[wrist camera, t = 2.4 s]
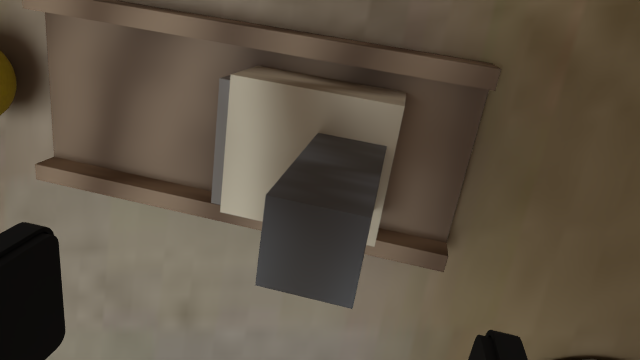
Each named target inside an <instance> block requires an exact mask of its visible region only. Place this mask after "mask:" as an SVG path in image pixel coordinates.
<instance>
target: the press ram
mask: <svg viewBox="0 0 640 360" xmlns="http://www.w3.org/2000/svg"><path fill="white" fill-rule="evenodd" d="M405 100H406V92H401V91H396V90H390V89H384V88H379V87H373V86H368V85H362V84H357V83H351V82H345V81H340V80H334V79H329V78H323V77H318V76H312V75H306V74H301V73H295V72H290V71H284V70H279V69H273V68H268V67H262V66H256V67H253V68H250V69H246V70H243V71H240V72H237V73H234V74H231V75H228V76H225V77H222V78H219V93H218V108H217V122H216V137H215V152H214V166H213V181H212V196H211V203H214V204H218V205H221V207H220V212H222V213H226V214H231V215H235V216H240V217H244V218H249V219H253V220H257V221H262V222H263V223H262V232H261V241H260V249H259V258H258V267H257V276H256V285H257V286H261V287H265V288H269V289H273V290H277V291H281V292H285V293H290V294H294V295H298V296H302V297H306V298H310V299H314V300H318V301H322V302H326V303H330V304H335V305H339V306H343V307H347V308H351V309H352V308H353V304H354V299H355V294H356V290H357V285H358V280H359V276H360V271H361V267H362V262H363V257H364V253H365V248H366V245H369V246H373V247H375V242H376V238H377V233H378V228H379V224H380V219H381V214H382V210H383V205H384V200H385V196H386V191H387V187H388V182H389V177H390V173H391V168H392V163H393V159H394V154H395V149H396V145H397V140H398V136H399V131H400V126H401V122H402V117H403V112H404V108H405Z"/></svg>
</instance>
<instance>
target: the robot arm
mask: <svg viewBox="0 0 640 360" xmlns="http://www.w3.org/2000/svg"><path fill="white" fill-rule="evenodd" d="M64 335H65V320H64V307H63V294H62V281H61V268H60V255H59V242H58V239H57V237H56V236H54V234H53V232H52V230H51V229H50V228H48V227H44V226H40V225H35V224H31V223H27V222H22V223H19V224H17V225H15V226H13V227H11V228H10V229H8V230H6V231H4V232H2V233H0V360H45V359H46V358H47V357H48V356H49V355H50V354H52V353H53V352H54V351H55V350H56V349H57V348H58V346H59V345H60V344H61V342H62V340H63V338H64ZM468 360H528V359H527V356H526V353H525V350H524V347H523V344H522V341H521V339H520V337H518V336H515V335H510V334H506V333H502V332H497V331H493V330H489V331H488V332H487V333H486V336H482V335H477V337H476V339H475V341H474V344H473V347H472V350H471V353H470V356H469V359H468ZM584 360H595V359H584Z"/></svg>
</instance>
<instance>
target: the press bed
mask: <svg viewBox="0 0 640 360" xmlns="http://www.w3.org/2000/svg"><path fill="white" fill-rule="evenodd" d="M22 5H23V8H25V9H30V10H36V11H42V12H45V20H46V36H47V51H48V67H49V83H50V99H51V114H52V130H53V146H54V157H52V158H50V159H47V160H45V161H42V162H39V163H37V164H35V168H36V179H37V180H42V181H46V182H50V183H55V184H59V185H64V186H68V187H72V188H77V189H81V190H85V191H90V192H94V193H99V194H103V195H107V196H112V197H116V198H121V199H125V200H129V201H134V202H138V203H143V204H147V205H151V206H156V207H160V208H164V209H169V210H173V211H178V212H182V213H186V214H191V215H195V216H200V217H204V218H208V219H213V220H217V221H222V222H226V223H230V224H235V225H239V226H243V227H248V228H252V229H257V230H261V231H262V223H263V222H262V221H257V220H253V219H249V218H244V217H240V216H235V215H231V214H226V213H222V212H220V207H221V205H218V204H214V203H211V196H212V181H213V166H214V152H215V137H216V122H217V108H218V93H219V78H222V77H225V76H228V75H231V74H234V73H237V72H240V71H243V70H246V69H250V68H253V67H256V66H262V67H268V68H273V69H279V70H284V71H290V72H295V73H301V74H306V75H312V76H318V77H323V78H329V79H334V80H340V81H345V82H351V83H357V84H362V85H368V86H373V87H379V88H384V89H390V90H396V91H401V92H406V100H405V108H404V112H403V117H402V122H401V126H400V131H399V136H398V140H397V145H396V149H395V154H394V159H393V163H392V168H391V173H390V177H389V182H388V187H387V191H386V196H385V200H384V205H383V210H382V214H381V219H380V224H379V228H378V233H377V238H376V242H375V247H373V246H369V245H366V248H365V253H364V254H366V255H371V256H375V257H380V258H384V259H388V260H393V261H397V262H401V263H406V264H410V265H415V266H419V267H423V268H428V269H432V270H437V271H441V272H444V270H445V266H446V263H447V259H448V251H447V239H448V235H449V232H450V228H451V225H452V221H453V217H454V214H455V210H456V207H457V203H458V200H459V196H460V192H461V189H462V185H463V182H464V178H465V174H466V171H467V167H468V164H469V160H470V156H471V153H472V149H473V146H474V142H475V139H476V135H477V131H478V128H479V124H480V121H481V117H482V113H483V110H484V106H485V103H486V99H487V95H488V92H489V90H493V91H495V90H496V86H497V83H498V79H499V76H500V72H501V69H500V68H498V67H497V66H495V65H493V64H491V63H485V62H479V61H473V60H467V59H461V58H455V57H450V56H444V55H438V54H432V53H426V52H420V51H414V50H408V49H402V48H396V47H390V46H384V45H378V44H372V43H366V42H360V41H354V40H348V39H342V38H336V37H330V36H324V35H318V34H312V33H306V32H300V31H294V30H288V29H282V28H276V27H270V26H264V25H259V24H253V23H247V22H241V21H235V20H229V19H223V18H217V17H211V16H205V15H199V14H193V13H187V12H181V11H175V10H169V9H163V8H157V7H151V6H145V5H139V4H133V3H127V2H121V1H115V0H22Z"/></svg>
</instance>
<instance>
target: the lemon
mask: <svg viewBox="0 0 640 360" xmlns="http://www.w3.org/2000/svg"><path fill="white" fill-rule="evenodd" d="M16 88H17V86H16V76H15V72H14V70H13V67H12V65H11V63H10V62H9V60H8V59H7V58H6V56H5V55H4V54H3V53H2V52H1V51H0V115H1V114H2V113H4V112H5V111H6V110H7V109H8V108H9V106H10V105H11V103H12V101H13V99H14V97H15V93H16Z"/></svg>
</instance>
